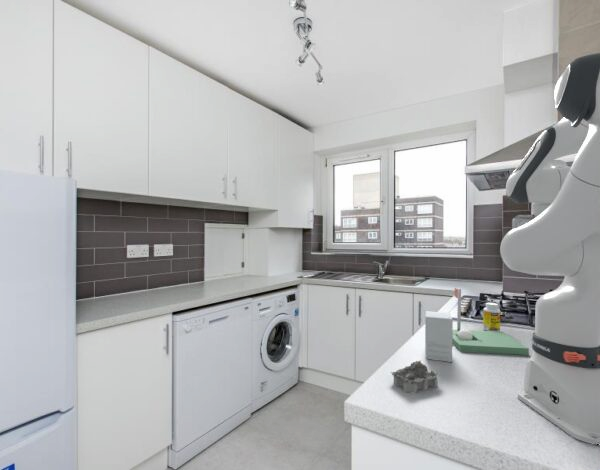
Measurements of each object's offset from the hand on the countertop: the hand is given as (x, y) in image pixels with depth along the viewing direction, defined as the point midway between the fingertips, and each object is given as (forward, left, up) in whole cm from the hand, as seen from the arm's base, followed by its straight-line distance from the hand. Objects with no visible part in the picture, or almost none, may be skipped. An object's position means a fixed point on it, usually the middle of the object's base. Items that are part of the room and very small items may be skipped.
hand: (547, 259), depth 98 cm
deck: (+8, +16, -29) cm, 34 cm away
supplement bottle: (+22, +6, -29) cm, 37 cm away
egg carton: (-26, +45, -30) cm, 60 cm away
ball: (+6, +21, -27) cm, 35 cm away
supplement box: (-7, +34, -29) cm, 46 cm away
